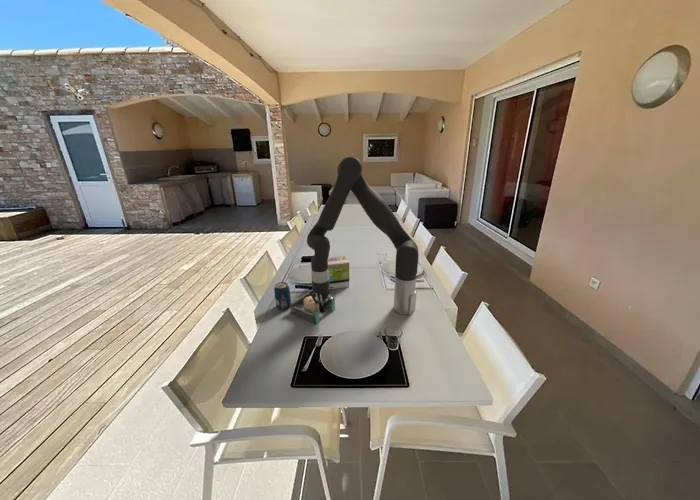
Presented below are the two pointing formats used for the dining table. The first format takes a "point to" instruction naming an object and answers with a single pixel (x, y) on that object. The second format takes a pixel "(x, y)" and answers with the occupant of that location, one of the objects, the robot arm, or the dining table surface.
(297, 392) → the dining table surface
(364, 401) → the dining table surface
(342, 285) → the tea box
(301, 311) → the holder
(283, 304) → the soda can
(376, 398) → the dining table surface
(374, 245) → the dining table surface
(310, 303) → the beige round fruit
